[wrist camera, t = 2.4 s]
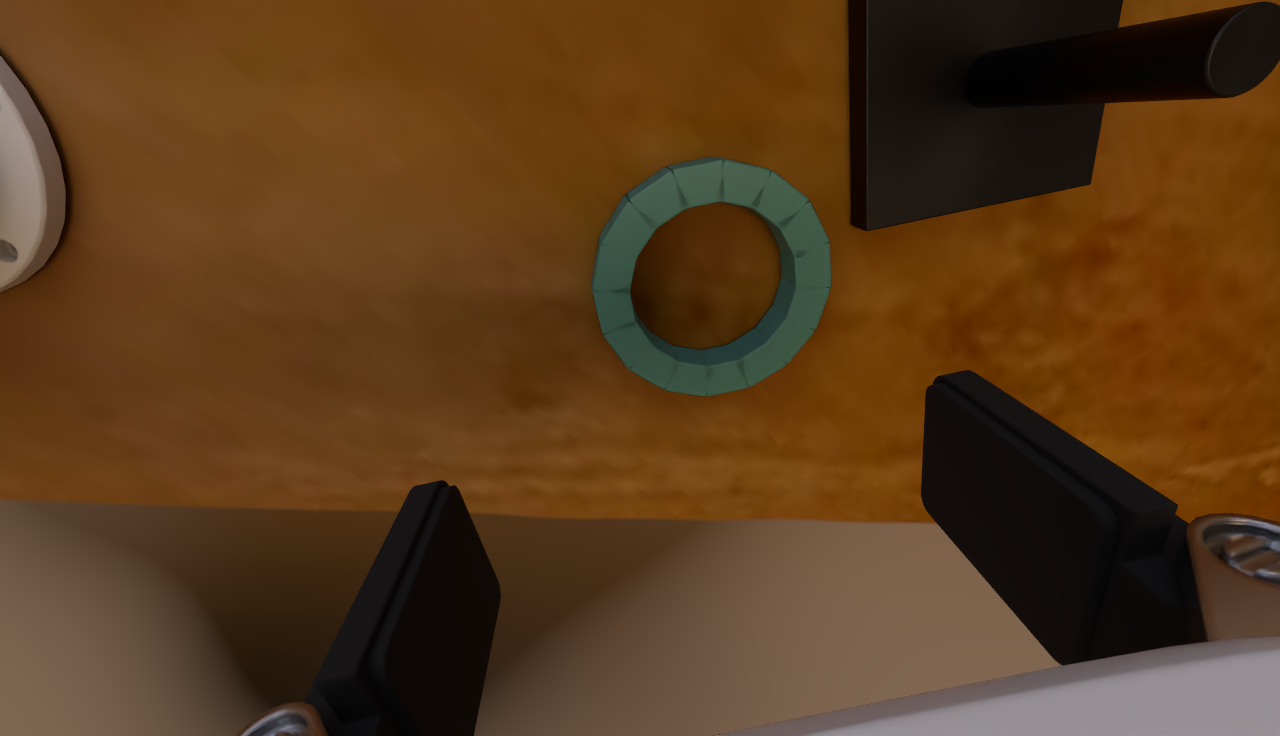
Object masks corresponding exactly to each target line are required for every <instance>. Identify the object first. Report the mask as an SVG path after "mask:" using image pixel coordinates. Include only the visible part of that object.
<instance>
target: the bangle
mask: <svg viewBox="0 0 1280 736" xmlns="http://www.w3.org/2000/svg"><path fill="white" fill-rule="evenodd" d="M627 196H628V197H627ZM627 196H624V197H623V199H622V200H621V202H620V203H619V205H618V207H617V208H616V210H615V211H614V213H613V214H612V216H611V218H610V219H609V221H608V222H607V224H606V226H605V227H604V229H603V230H602V232H601V236H599V241H598V247H597V253H596V259H595V264H594V270H593V276H592V290H593V297H594V302H595V306H596V310H597V314H598V318H599V323H600V327H601V331H602V333H603V334H604V338H605V339H606V340H607V342H608V343H609V344H610V346H611V347H612V348H613V350H614V351H615V352H616V354H617V355H618V356H619V358H620V359H621V360H622V362H623V363H624V364H625V366H626V367H627V368H629V369H630V371H632V372H634V373H635V374H637V375H639V376H641V377H642V378H644V379H646V380H647V381H649V382H651V383H653V384H654V385H656V386H658V387H660V388H661V389H665V390H666V391H670V392H677V393H684V394H691V395H698V396H704V397H705V396H706V394H707V396H712V395H717V394H722V393H727V392H732V391H736V390H741V389H746V388H747V387H748V386H749V387H751V386H753V385H755V384H756V383H758V382H760V381H761V380H763V379H765V378H766V377H768V376H770V375H771V374H773V373H775V372H776V371H778V370H780V369H781V368H783V367H785V366H786V365H785V363H786V364H788V363H789V362H790V361H791V359H792V358H793V357H794V356H795V355H796V353H797V352H798V351H799V350H800V349H801V347H802V346H803V345H804V344H805V343H806V341H807V340H808V339H809V338H810V337H811V335H812V334H813V333H814V330H813V329H816V328H817V325H818V323H819V320H820V317H821V314H822V312H823V309H824V306H825V303H826V301H827V298H828V295H829V292H830V288H829V287H831V262H830V243H829V242H828V241H829V239H828V237H827V235H826V233H825V231H824V229H823V226H822V224H821V222H820V220H819V218H818V216H817V214H816V212H815V210H814V208H813V206H812V204H811V202H810V201H808V198H807V197H806V196H804V195H803V194H802V193H801V192H799V191H798V190H797V189H796V188H794V187H793V186H792V185H791V184H789V183H788V182H787V181H786V180H784V179H783V178H782V177H781V176H779V175H778V174H777V173H775V172H774V171H771V170H769V169H767V168H763V167H759V166H754V165H750V164H746V163H741V162H737V161H732V160H728V159H723V158H719V157H707V158H702V159H697V160H692V161H688V162H683V163H678V164H673V165H668V166H667V168H665V167H664V168H662V169H661V170H659V171H658V172H656V173H655V174H654V175H652V176H651V177H649V178H648V179H646V180H645V181H644V182H642V183H641V184H639V185H638V186H636V187H635V188H634V189H632V190H631V191H629V192H628V193H627ZM717 202H724V203H728V204H733V205H738V206H743V207H747V208H749V209H750V210H752V211H753V212H754V213H756V214H757V215H758V216H760V217H761V218H762V219H764V220H765V221H766V223H767V224H768V226H769V228H770V230H771V232H772V234H773V236H774V238H775V239H776V241H777V243H778V245H779V247H780V260H781V274H782V278H781V281H780V284H779V287H778V290H777V293H776V296H775V300H774V303H773V306H772V307H771V308H770V309H769V311H768V312H767V313H766V314H765V316H764V317H763V318H762V319H761V321H760V322H759V323H758V324H757V326H756V327H755V328H754V329H753V330H751V331H749V332H748V333H746V334H745V335H743V336H741V337H740V338H738V339H736V340H735V341H733V342H732V343H730V344H728V345H723V346H719V347H714V348H709V349H704V350H697V349H691V348H685V347H679V346H673V345H671V344H669V343H668V342H666V341H665V340H663V339H661V338H660V337H658V336H656V335H655V334H653V333H652V332H650V331H649V330H648V328H647V327H646V326H645V324H644V323H643V321H642V320H641V319H640V317H639V316H638V314H637V313H636V311H635V310H634V308H633V303H632V298H631V293H630V288H631V284H632V279H633V274H634V269H635V264H636V259H637V257H638V256H639V254H640V253H641V251H642V250H643V248H644V247H645V245H646V244H647V242H648V241H649V239H650V238H651V236H652V235H653V233H654V232H655V230H656V229H657V228H658V227H660V226H661V225H663V224H664V223H666V222H667V221H669V220H670V219H672V218H673V217H675V216H676V215H678V214H679V213H681V212H682V211H683V210H685V209H688V208H693V207H698V206H702V205H707V204H712V203H717Z"/></svg>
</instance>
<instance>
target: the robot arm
mask: <svg viewBox="0 0 1280 736" xmlns="http://www.w3.org/2000/svg"><path fill="white" fill-rule="evenodd" d="M65 204H66V189H65V184H64V179H63V173H62V168H61V162H60V158H59V156H58V153H57V151H56V148H55V145H54V143H53V140H52V137H51V135H50V132H49V130H48V127H47V125H46V123H45V121H44V120H43V118H42V116H41V114H40V112H39V111H38V109H37V107H36V105H35V104H34V102H33V100H32V98H31V97H30V95H29V93H28V91H27V90H26V88H25V87H24V86H23V84H22V83H21V82H20V81H19V79H18V78H17V77H16V75H15V74H14V73H13V71H12V70H11V69H10V67H9V66H8V65H7V64H6V62H5V61H4V60H3V58H2V57H1V56H0V292H3V291H5V290H7V289H9V288H11V287H13V286H16V285H18V284H20V283H22V282H24V281H26V280H27V279H28V278H29V277H31V276H32V275H33V274H34V273H35V272H37V271H38V270H39V269H40V268H41V267H43V266H44V264H45V263H46V261H47V260H48V258H49V257H50V255H51V254H52V252H53V251H54V249H55V248H56V246H57V245H58V241H59V238H60V235H61V231H62V228H63V225H64V222H65ZM921 498H922V502H923V504H924V507H925V509H926V511H927V512H928V513H929V515H930V516H931V517H932V518H933V519H934V520H935V522H936V523H937V524H938V525H939V526H940V527H941V529H942V530H943V531H944V532H945V533H946V534H947V535H948V537H949V538H950V539H951V540H952V541H953V542H954V544H955V545H956V546H957V547H958V548H959V549H960V551H961V552H962V553H963V554H964V555H965V556H966V558H967V559H968V560H969V561H970V562H971V563H972V565H973V566H974V567H975V568H976V569H977V570H978V572H979V573H980V574H981V575H982V576H983V577H984V578H985V580H986V581H987V582H988V583H989V584H990V585H991V587H992V588H993V589H994V590H995V591H996V592H997V593H998V595H999V596H1000V597H1001V598H1002V599H1003V600H1004V602H1005V603H1006V604H1007V605H1008V606H1009V608H1010V609H1011V610H1012V611H1013V612H1014V613H1015V614H1016V616H1017V617H1018V618H1019V619H1020V620H1021V622H1022V623H1023V624H1024V625H1025V626H1026V627H1027V628H1028V630H1029V631H1030V632H1031V633H1032V634H1033V635H1034V637H1035V638H1036V639H1037V640H1038V641H1039V642H1040V644H1041V645H1042V646H1043V647H1044V648H1045V649H1046V651H1047V652H1048V653H1049V654H1050V655H1051V656H1052V657H1053V658H1054V659H1055V660H1056V661H1057V662H1058V663H1060V664H1061V665H1063V666H1059V667H1053V668H1048V669H1043V670H1038V671H1034V672H1028V673H1023V674H1018V675H1013V676H1008V677H1003V678H998V679H993V680H987V681H983V682H977V683H972V684H967V685H963V686H957V687H952V688H947V689H942V690H937V691H932V692H926V693H921V694H916V695H911V696H906V697H901V698H896V699H891V700H886V701H881V702H876V703H871V704H866V705H862V706H856V707H852V708H847V709H842V710H837V711H832V712H827V713H822V714H817V715H812V716H807V717H802V718H797V719H792V720H787V721H782V722H777V723H773V724H768V725H763V726H758V727H753V728H748V729H743V730H738V731H733V732H728V733H724V734H718V735H714V736H1280V523H1279V522H1276V521H1272V520H1268V519H1264V518H1260V517H1256V516H1251V515H1243V514H1234V513H1215V514H1208V515H1204V516H1201V517H1197V518H1195V519H1194V520H1193V521H1192V522H1191V523H1190V524H1188V523H1187V522H1185V521H1184V520H1182V519H1181V518H1180V517H1178V516H1177V515H1175V513H1176V510H1177V506H1178V504H1176V503H1174V502H1173V501H1171V500H1170V499H1168V498H1167V497H1165V496H1164V495H1162V494H1161V493H1159V492H1158V491H1156V490H1154V489H1153V488H1151V487H1150V486H1148V485H1147V484H1145V483H1144V482H1142V481H1141V480H1139V479H1138V478H1136V477H1135V476H1133V475H1131V474H1130V473H1128V472H1127V471H1125V470H1124V469H1122V468H1121V467H1119V466H1118V465H1116V464H1115V463H1113V462H1111V461H1110V460H1108V459H1107V458H1105V457H1104V456H1102V455H1101V454H1099V453H1098V452H1096V451H1095V450H1093V449H1091V448H1090V447H1088V446H1087V445H1085V444H1084V443H1082V442H1081V441H1079V440H1078V439H1076V438H1075V437H1073V436H1071V435H1070V434H1068V433H1067V432H1065V431H1064V430H1062V429H1061V428H1059V427H1058V426H1056V425H1055V424H1053V423H1051V422H1050V421H1048V420H1047V419H1045V418H1044V417H1042V416H1041V415H1039V414H1038V413H1036V412H1035V411H1033V410H1031V409H1030V408H1028V407H1027V406H1025V405H1024V404H1022V403H1021V402H1019V401H1018V400H1016V399H1015V398H1013V397H1012V396H1010V395H1008V394H1007V393H1005V392H1004V391H1002V390H1001V389H999V388H998V387H996V386H995V385H993V384H992V383H990V382H988V381H987V380H985V379H984V378H982V377H981V376H979V375H978V374H976V373H975V372H972V371H970V370H965V371H960V372H956V373H951V374H946V375H941V376H938V377H936V378H935V380H934V382H933V385H930V386H929V387H928V388H927V390H926V397H925V419H924V441H923V462H922V484H921ZM500 599H501V593H500V585H499V582H498V579H497V577H496V575H495V572H494V570H493V568H492V565H491V563H490V561H489V559H488V556H487V554H486V552H485V549H484V547H483V545H482V542H481V540H480V538H479V536H478V533H477V531H476V528H475V526H474V524H473V521H472V519H471V517H470V514H469V512H468V510H467V507H466V505H465V503H464V500H463V498H462V496H461V494H460V491H459V489H458V488H457V487H456V486H454V485H453V486H449V485H448V484H447V483H446V482H445V481H443V480H441V481H436V482H431V483H427V484H422V485H417V486H414V487H412V489H411V490H410V492H409V494H408V496H407V498H406V500H405V502H404V504H403V506H402V508H401V510H400V512H399V514H398V516H397V518H396V520H395V522H394V523H393V525H392V528H391V529H390V531H389V533H388V536H387V538H386V539H385V541H384V543H383V546H382V547H381V549H380V551H379V553H378V555H377V557H376V559H375V561H374V563H373V565H372V567H371V569H370V571H369V573H368V575H367V577H366V579H365V581H364V583H363V585H362V587H361V589H360V591H359V593H358V595H357V597H356V599H355V601H354V603H353V605H352V607H351V609H350V610H349V612H348V614H347V616H346V619H345V621H344V622H343V624H342V626H341V628H340V630H339V632H338V634H337V636H336V638H335V640H334V642H333V644H332V646H331V648H330V650H329V652H328V654H327V656H326V658H325V660H324V662H323V664H322V666H321V668H320V670H319V672H318V674H317V676H316V678H315V680H314V682H313V685H312V688H311V689H310V691H309V693H308V695H307V697H306V699H305V701H304V703H303V702H296V703H288V704H284V705H282V706H279V707H277V708H274V709H272V710H270V711H268V712H266V713H264V714H263V715H261V716H260V717H258V718H256V719H255V720H253V721H251V722H250V723H249V724H248V725H247V726H245V727H244V728H243V729H242V730H241V731H240V732H238V733H237V734H236V735H235V736H474V731H475V726H476V721H477V716H478V711H479V706H480V701H481V696H482V691H483V686H484V681H485V676H486V671H487V665H488V661H489V656H490V651H491V646H492V641H493V635H494V630H495V626H496V620H497V616H498V610H499V605H500Z"/></svg>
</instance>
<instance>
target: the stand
mask: <svg viewBox="0 0 1280 736" xmlns="http://www.w3.org/2000/svg"><path fill="white" fill-rule="evenodd" d="M1122 3H1123V0H849V71H850V149H851V224H852V226H855V227H857V228H860V229H862V230H865V231H870V230H875V229H880V228H885V227H889V226H894V225H899V224H904V223H908V222H913V221H918V220H923V219H928V218H932V217H937V216H942V215H947V214H952V213H956V212H961V211H966V210H971V209H975V208H980V207H985V206H990V205H995V204H999V203H1004V202H1009V201H1014V200H1019V199H1023V198H1028V197H1033V196H1038V195H1042V194H1047V193H1052V192H1057V191H1062V190H1066V189H1071V188H1076V187H1081V186H1086V185H1089V184H1090V183H1091V179H1092V173H1093V167H1094V162H1095V156H1096V150H1097V145H1098V139H1099V133H1100V128H1101V122H1102V116H1103V111H1104V105H1105V103H1116V102H1140V101H1165V100H1189V99H1213V98H1230V97H1235V96H1238V95H1241V94H1243V93H1245V92H1247V91H1249V90H1251V89H1253V88H1254V87H1256V86H1257V85H1258V84H1260V83H1261V82H1262V81H1263V80H1264V79H1265V78H1266V77H1267V76H1268V75H1269V74H1270V73H1271V72H1272V70H1273V69H1274V68H1275V66H1276V65H1277V63H1278V62H1279V60H1280V6H1279V5H1277V4H1275V3H1271V2H1257V3H1252V4H1246V5H1241V6H1235V7H1230V8H1224V9H1219V10H1213V11H1208V12H1202V13H1197V14H1191V15H1186V16H1181V17H1175V18H1170V19H1164V20H1159V21H1153V22H1148V23H1142V24H1137V25H1131V26H1126V27H1120V28H1118V25H1119V20H1120V14H1121V8H1122Z"/></svg>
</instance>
